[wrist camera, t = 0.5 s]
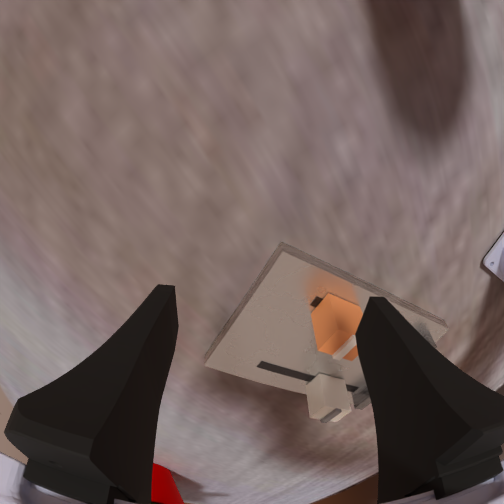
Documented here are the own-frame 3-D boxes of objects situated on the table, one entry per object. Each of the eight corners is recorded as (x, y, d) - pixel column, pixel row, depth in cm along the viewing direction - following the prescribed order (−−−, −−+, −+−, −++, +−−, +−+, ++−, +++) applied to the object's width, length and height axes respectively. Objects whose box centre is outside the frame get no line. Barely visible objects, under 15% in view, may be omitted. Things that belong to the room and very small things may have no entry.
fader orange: (360, 306, 23) (373, 344, 19) (342, 326, 24) (352, 364, 20) (328, 293, 22) (339, 332, 19) (310, 314, 23) (318, 354, 20)
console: (444, 320, 26) (455, 340, 23) (359, 397, 32) (363, 417, 30) (281, 241, 21) (284, 265, 19) (205, 355, 27) (202, 379, 25)
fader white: (344, 380, 28) (352, 413, 24) (330, 391, 29) (336, 424, 26) (319, 373, 27) (325, 408, 24) (305, 385, 28) (309, 420, 25)
